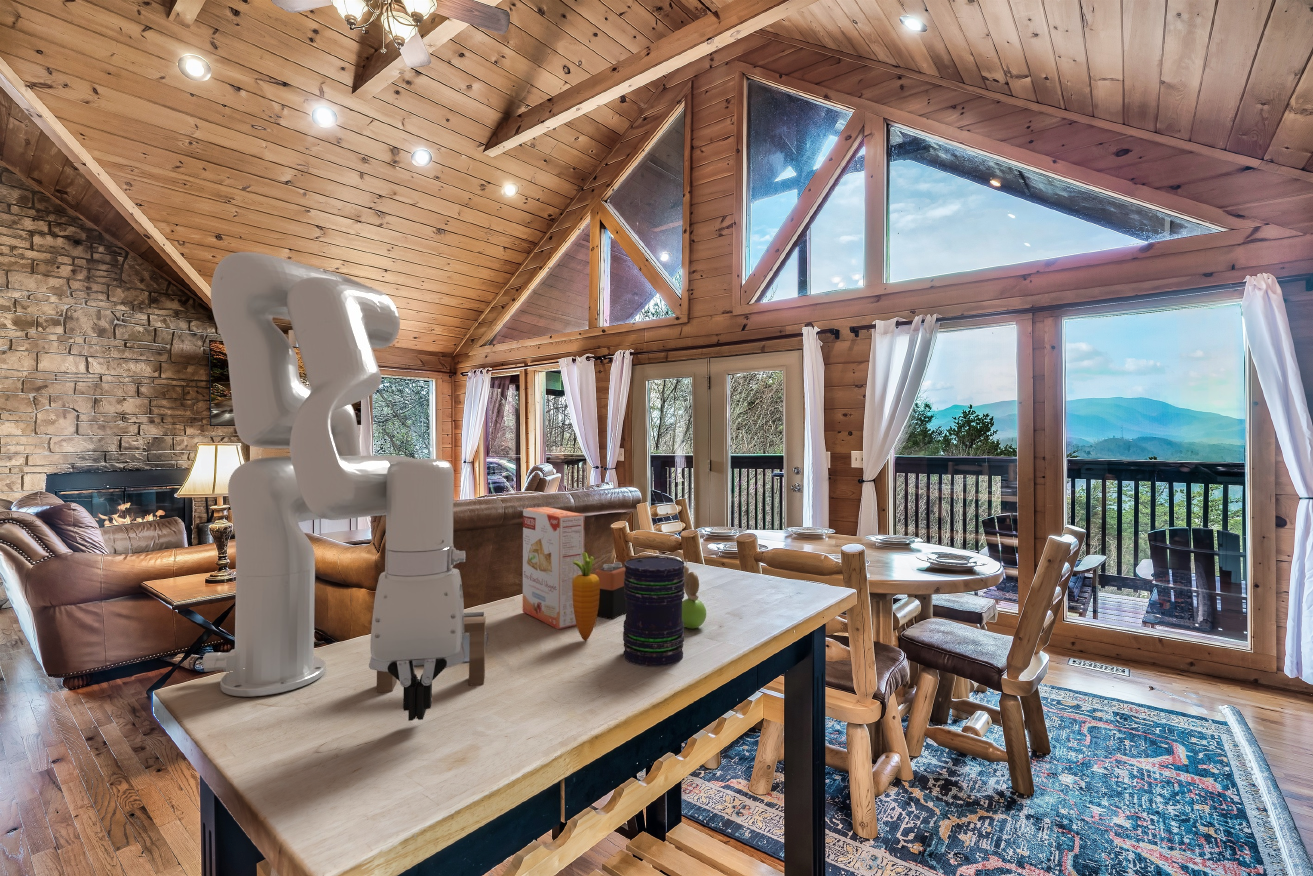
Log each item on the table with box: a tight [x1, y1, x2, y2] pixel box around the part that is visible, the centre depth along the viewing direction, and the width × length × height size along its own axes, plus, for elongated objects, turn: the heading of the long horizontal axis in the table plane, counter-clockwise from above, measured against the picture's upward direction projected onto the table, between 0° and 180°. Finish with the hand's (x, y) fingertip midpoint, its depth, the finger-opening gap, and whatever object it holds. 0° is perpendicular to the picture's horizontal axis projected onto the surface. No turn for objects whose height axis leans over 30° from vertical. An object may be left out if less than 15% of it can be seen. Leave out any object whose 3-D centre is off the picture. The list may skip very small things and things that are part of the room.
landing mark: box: [413, 632, 489, 667], centre depth 98 cm, size 13×13×1 cm
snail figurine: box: [681, 559, 707, 629], centre depth 112 cm, size 5×6×12 cm
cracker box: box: [522, 506, 585, 630], centre depth 116 cm, size 14×6×21 cm, turn 40°
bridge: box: [376, 615, 487, 693], centre depth 84 cm, size 3×14×9 cm, turn 103°
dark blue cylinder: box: [622, 556, 686, 668], centre depth 97 cm, size 10×10×15 cm
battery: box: [594, 561, 626, 620], centre depth 119 cm, size 4×7×10 cm, turn 151°
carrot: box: [572, 551, 600, 642], centre depth 103 cm, size 5×5×15 cm
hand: (417, 714), depth 72 cm, fingers closed
